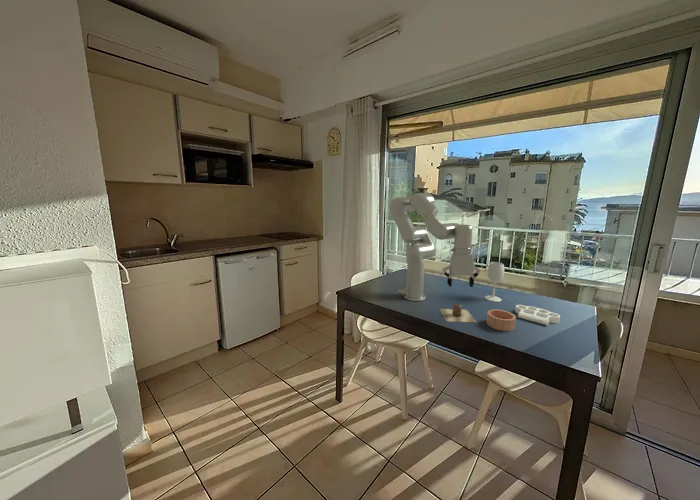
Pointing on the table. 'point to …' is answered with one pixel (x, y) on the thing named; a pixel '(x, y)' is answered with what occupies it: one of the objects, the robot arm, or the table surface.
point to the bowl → (501, 320)
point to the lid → (457, 314)
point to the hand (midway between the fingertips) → (460, 286)
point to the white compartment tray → (537, 314)
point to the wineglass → (495, 278)
